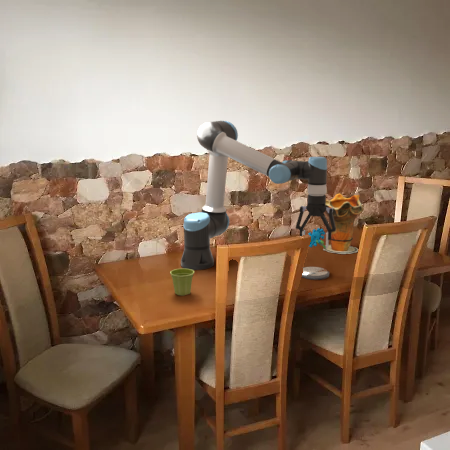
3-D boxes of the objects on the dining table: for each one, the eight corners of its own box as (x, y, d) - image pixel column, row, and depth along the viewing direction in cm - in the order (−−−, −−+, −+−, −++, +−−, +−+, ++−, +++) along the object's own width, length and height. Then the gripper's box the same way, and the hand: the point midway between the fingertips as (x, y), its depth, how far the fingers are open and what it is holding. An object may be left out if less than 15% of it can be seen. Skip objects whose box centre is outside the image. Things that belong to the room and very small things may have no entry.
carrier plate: (295, 277, 219) (296, 274, 219) (301, 268, 231) (301, 265, 231) (326, 281, 215) (326, 277, 215) (331, 271, 227) (331, 268, 227)
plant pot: (173, 288, 208) (172, 267, 206) (196, 289, 207) (196, 268, 205) (168, 297, 199) (167, 275, 197) (192, 297, 198) (192, 276, 196)
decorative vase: (314, 252, 254) (317, 196, 249) (324, 243, 275) (327, 191, 270) (357, 257, 246) (361, 199, 241) (364, 247, 267) (367, 193, 262)
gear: (300, 240, 224) (316, 223, 224) (307, 248, 227) (323, 231, 227) (311, 250, 214) (328, 232, 214) (319, 258, 217) (336, 241, 217)
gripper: (344, 194, 215) (342, 246, 220) (292, 191, 222) (291, 241, 227) (342, 197, 208) (340, 250, 213) (288, 194, 215) (287, 246, 220)
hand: (315, 246), depth 220 cm, fingers closed on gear, 9 cm apart
